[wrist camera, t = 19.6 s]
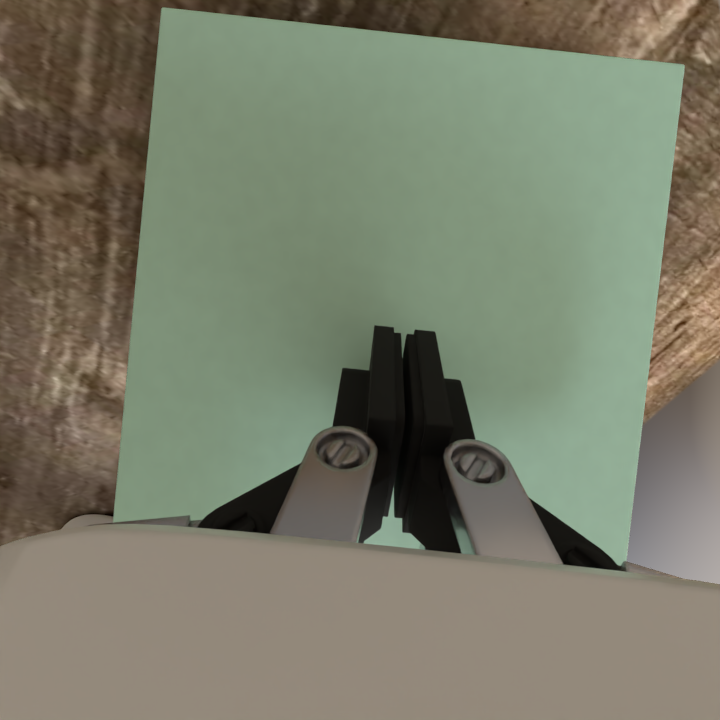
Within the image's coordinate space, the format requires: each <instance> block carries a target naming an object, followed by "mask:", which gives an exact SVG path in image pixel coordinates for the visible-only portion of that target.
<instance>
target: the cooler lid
mask: <svg viewBox="0 0 720 720" xmlns="http://www.w3.org/2000/svg"><path fill="white" fill-rule="evenodd" d="M684 67H685V66H684V65H683V64H675V63H666V62H657V61H648V60H639V59H630V58H621V57H612V56H602V55H593V54H584V53H575V52H566V51H557V50H548V49H539V48H530V47H521V46H511V45H502V44H493V43H484V42H475V41H466V40H457V39H448V38H439V37H429V36H420V35H411V34H402V33H393V32H384V31H375V30H366V29H357V28H348V27H338V26H329V25H320V24H311V23H302V22H293V21H284V20H275V19H266V18H256V17H247V16H238V15H229V14H220V13H211V12H202V11H193V10H184V9H175V8H165V7H163V8H162V9H161V17H160V28H159V39H158V49H157V60H156V71H155V81H154V92H153V102H152V113H151V124H150V134H149V145H148V155H147V166H146V177H145V187H144V198H143V208H142V219H141V230H140V240H139V251H138V261H137V272H136V283H135V293H134V304H133V315H132V325H131V336H130V346H129V357H128V368H127V378H126V389H125V399H124V410H123V421H122V431H121V442H120V452H119V463H118V474H117V484H116V495H115V506H114V516H113V523H114V522H124V521H135V520H145V519H156V518H166V517H177V516H187V515H190V518H191V521H193V520H203V519H204V518H205V517H206V516H207V515H208V514H209V513H211V512H212V511H214V510H215V509H217V508H218V507H220V506H222V505H224V504H226V503H228V502H229V501H231V500H233V499H235V498H237V497H239V496H241V495H242V494H244V493H246V492H248V491H250V490H252V489H254V488H255V487H257V486H259V485H261V484H263V483H265V482H266V481H268V480H270V479H272V478H274V477H276V476H278V475H279V474H281V473H283V472H285V471H287V470H289V469H290V468H292V467H294V466H296V465H298V464H300V463H301V462H302V460H303V458H304V456H305V453H306V451H307V449H308V447H309V444H310V442H311V441H312V439H313V438H314V436H315V435H316V434H318V433H319V432H321V431H322V430H324V429H327V428H330V427H332V426H333V420H334V414H335V408H336V402H337V396H338V390H339V385H340V379H341V373H342V368H351V369H361V370H369V367H370V358H371V350H372V341H373V333H374V325H377V326H387V327H394V332H395V333H401V341H402V358H403V352H404V346H405V340H406V335H407V334H414V331H415V329H416V330H425V331H435V333H436V338H437V343H438V348H439V353H440V359H441V364H442V369H443V374H444V378H447V379H457V380H460V381H461V383H462V387H463V391H464V395H465V399H466V403H467V407H468V411H469V415H470V419H471V423H472V427H473V431H474V435H475V439H476V440H479V441H482V442H485V443H488V444H490V445H492V446H494V447H496V448H497V449H498V450H500V451H501V452H502V453H503V454H504V455H505V456H506V457H507V459H508V460H509V461H510V463H511V465H512V467H513V468H514V470H515V472H516V474H517V476H518V478H519V480H520V482H521V484H522V486H523V488H524V490H525V492H526V494H527V495H528V497H529V498H530V499H532V500H533V501H535V502H536V503H537V504H539V505H540V506H542V507H543V508H544V509H546V510H547V511H549V512H550V513H551V514H553V515H554V516H556V517H557V518H558V519H560V520H561V521H563V522H564V523H565V524H567V525H568V526H570V527H571V528H572V529H574V530H575V531H577V532H578V533H579V534H581V535H582V536H584V537H585V538H586V539H588V540H589V541H591V542H592V543H593V544H595V545H596V546H598V547H599V548H600V549H602V550H603V551H604V552H605V553H606V554H608V555H609V556H610V557H611V558H612V559H613V560H614V562H615V563H616V564H617V565H619V566H621V564H622V563H623V561H626V559H627V551H628V541H629V534H630V525H631V516H632V508H633V499H634V491H635V483H636V474H637V466H638V457H639V449H640V441H641V432H642V424H643V415H644V407H645V398H646V390H647V381H648V373H649V364H650V356H651V347H652V339H653V330H654V322H655V313H656V305H657V296H658V288H659V279H660V271H661V262H662V254H663V246H664V237H665V229H666V220H667V212H668V203H669V195H670V186H671V178H672V169H673V161H674V152H675V144H676V135H677V127H678V118H679V110H680V101H681V93H682V84H683V76H684ZM364 543H365V544H374V545H384V546H393V547H403V548H413V549H419V547H420V542H419V541H418V540H417V539H416V538H415V537H414V536H413V535H412V534H411V533H402V518H395V517H394V487H393V493H392V498H391V503H390V508H389V514H388V517H384V516H383V520H382V525H381V529H380V530H378V531H377V532H376V533H374V534H373V535H372V536H370V537H369V538H368V539H367V540H365V541H364Z"/></svg>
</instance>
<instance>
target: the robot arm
mask: <svg viewBox="0 0 720 720" xmlns="http://www.w3.org/2000/svg"><path fill="white" fill-rule="evenodd" d="M393 487H394V517H395V518H402V533H411V534H412V535H413V536H414V537H415V538H416V539H417V540H418V541H419V542H420V547H419V549H413V548H403V547H393V546H384V545H374V544H365V543H364V541H365V540H367V539H368V538H369V537H370V536H372V535H373V534H374V533H376V532H377V531H378V530H380V529H381V525H382V520H383V516H384V517H388V514H389V508H390V503H391V498H392V493H393ZM0 720H720V584H714V583H708V582H702V581H696V580H688V579H682V578H679V577H676V576H672V575H669V574H666V573H663V572H659V571H656V570H653V569H649V568H646V567H643V566H640V565H636V564H633V563H629V562H626V561H623V563H622V564H621V566H619V565H617V564H616V563H615V562H614V560H613V559H612V558H611V557H610V556H609V555H608V554H606V553H605V552H604V551H603V550H602V549H600V548H599V547H598V546H596V545H595V544H593V543H592V542H591V541H589V540H588V539H586V538H585V537H584V536H582V535H581V534H579V533H578V532H577V531H575V530H574V529H572V528H571V527H570V526H568V525H567V524H565V523H564V522H563V521H561V520H560V519H558V518H557V517H556V516H554V515H553V514H551V513H550V512H549V511H547V510H546V509H544V508H543V507H542V506H540V505H539V504H537V503H536V502H535V501H533V500H532V499H530V498H529V497H528V495H527V494H526V492H525V490H524V488H523V486H522V484H521V482H520V480H519V478H518V476H517V474H516V472H515V470H514V468H513V467H512V465H511V463H510V461H509V460H508V459H507V457H506V456H505V455H504V454H503V453H502V452H501V451H500V450H498V449H497V448H496V447H494V446H492V445H490V444H488V443H485V442H482V441H479V440H476V439H475V435H474V431H473V427H472V423H471V419H470V415H469V411H468V407H467V403H466V399H465V395H464V391H463V387H462V383H461V381H460V380H457V379H447V378H444V374H443V369H442V364H441V359H440V353H439V348H438V343H437V338H436V333H435V331H425V330H416V329H415V331H414V334H407V335H406V340H405V346H404V352H403V358H402V341H401V333H395V332H394V327H387V326H377V325H374V333H373V341H372V350H371V358H370V367H369V370H361V369H351V368H342V373H341V379H340V385H339V390H338V396H337V402H336V408H335V414H334V420H333V426H332V427H330V428H327V429H324V430H322V431H321V432H319V433H318V434H316V435H315V436H314V438H313V439H312V441H311V442H310V444H309V447H308V449H307V451H306V453H305V456H304V458H303V460H302V462H301V463H300V464H298V465H296V466H294V467H292V468H290V469H289V470H287V471H285V472H283V473H281V474H279V475H278V476H276V477H274V478H272V479H270V480H268V481H266V482H265V483H263V484H261V485H259V486H257V487H255V488H254V489H252V490H250V491H248V492H246V493H244V494H242V495H241V496H239V497H237V498H235V499H233V500H231V501H229V502H228V503H226V504H224V505H222V506H220V507H218V508H217V509H215V510H214V511H212V512H211V513H209V514H208V515H207V516H206V517H205V518H204V519H203V520H193V521H191V518H190V515H187V516H177V517H166V518H156V519H145V520H135V521H124V522H114V523H103V524H93V525H88V526H84V527H75V528H66V529H62V530H57V531H53V532H48V533H44V534H39V535H34V536H30V537H27V538H23V539H20V540H17V541H13V542H10V543H7V544H5V545H2V546H0Z"/></svg>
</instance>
